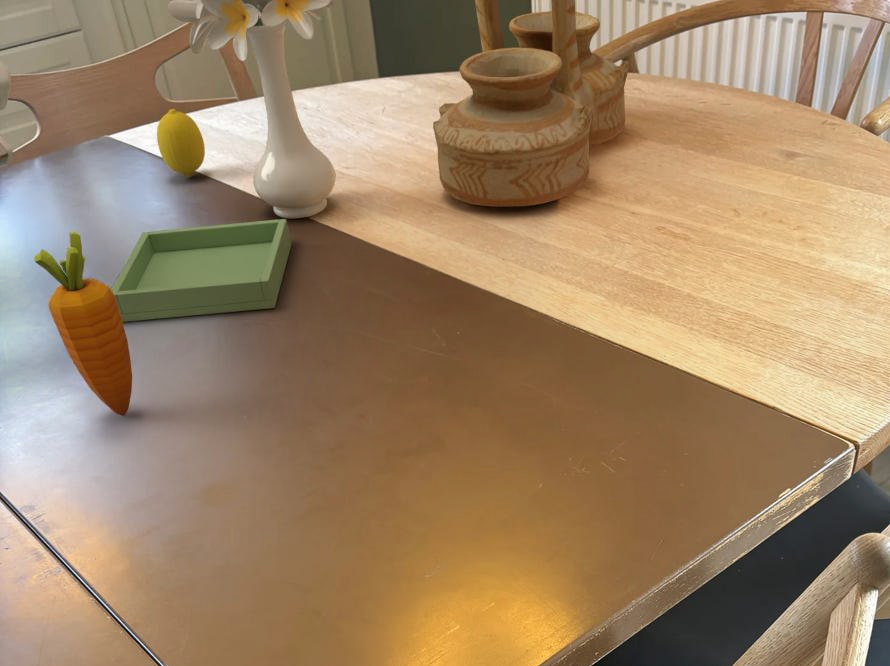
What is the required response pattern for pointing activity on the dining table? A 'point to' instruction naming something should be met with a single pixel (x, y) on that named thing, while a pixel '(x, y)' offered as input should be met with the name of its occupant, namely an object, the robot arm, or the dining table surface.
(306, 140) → the flower vase
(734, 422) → the dining table surface
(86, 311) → the carrot
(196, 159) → the lemon
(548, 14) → the ceramic vessel
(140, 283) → the green tray
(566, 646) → the dining table surface
